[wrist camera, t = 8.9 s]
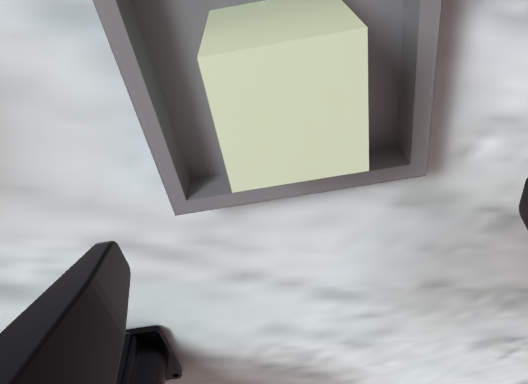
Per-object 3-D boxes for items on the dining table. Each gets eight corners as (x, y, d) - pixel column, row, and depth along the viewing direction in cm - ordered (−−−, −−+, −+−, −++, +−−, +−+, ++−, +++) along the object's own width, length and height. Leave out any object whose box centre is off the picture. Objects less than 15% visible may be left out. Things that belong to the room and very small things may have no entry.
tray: (409, 149, 22) (426, 175, 20) (181, 186, 23) (175, 215, 21) (425, -153, 14) (455, -160, 12) (86, -83, 15) (62, -79, 13)
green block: (336, 101, 19) (369, 170, 15) (234, 119, 20) (232, 192, 15) (330, -12, 16) (367, 27, 12) (209, 10, 17) (196, 58, 12)
